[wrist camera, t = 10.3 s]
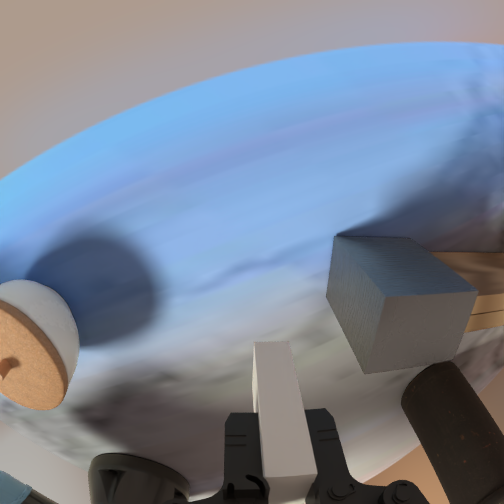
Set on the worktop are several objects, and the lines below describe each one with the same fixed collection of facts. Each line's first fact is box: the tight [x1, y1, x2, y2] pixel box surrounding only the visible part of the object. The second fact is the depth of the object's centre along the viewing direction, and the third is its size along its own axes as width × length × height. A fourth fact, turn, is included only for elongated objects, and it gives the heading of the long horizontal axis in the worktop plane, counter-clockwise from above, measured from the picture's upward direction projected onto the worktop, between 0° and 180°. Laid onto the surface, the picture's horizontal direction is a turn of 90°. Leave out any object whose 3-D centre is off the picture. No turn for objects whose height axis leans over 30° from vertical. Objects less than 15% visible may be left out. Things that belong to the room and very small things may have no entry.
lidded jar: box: [0, 279, 79, 410], centre depth 21 cm, size 11×11×9 cm
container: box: [401, 362, 504, 504], centre depth 22 cm, size 9×9×20 cm
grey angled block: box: [326, 236, 479, 374], centre depth 21 cm, size 7×5×9 cm
